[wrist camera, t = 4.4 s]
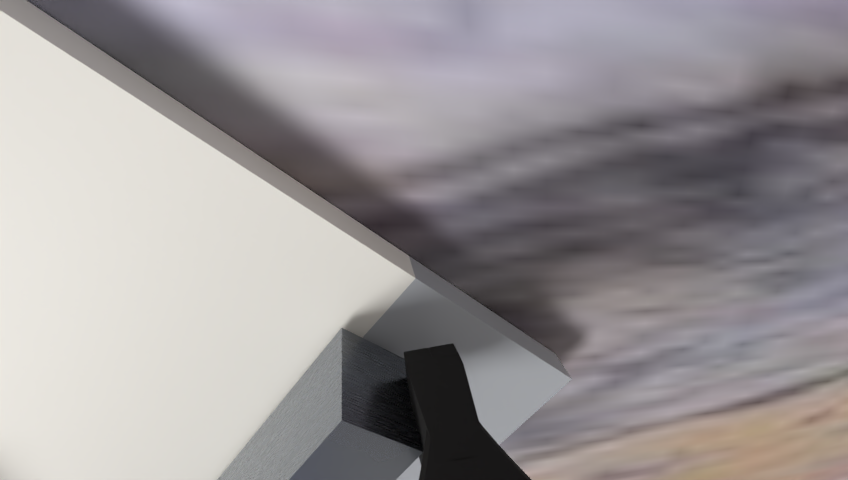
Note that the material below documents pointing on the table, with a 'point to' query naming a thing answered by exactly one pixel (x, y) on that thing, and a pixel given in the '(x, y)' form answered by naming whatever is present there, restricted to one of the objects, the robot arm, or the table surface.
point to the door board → (186, 280)
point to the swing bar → (337, 421)
